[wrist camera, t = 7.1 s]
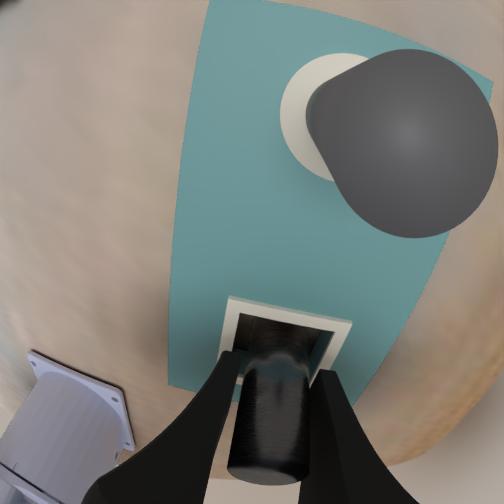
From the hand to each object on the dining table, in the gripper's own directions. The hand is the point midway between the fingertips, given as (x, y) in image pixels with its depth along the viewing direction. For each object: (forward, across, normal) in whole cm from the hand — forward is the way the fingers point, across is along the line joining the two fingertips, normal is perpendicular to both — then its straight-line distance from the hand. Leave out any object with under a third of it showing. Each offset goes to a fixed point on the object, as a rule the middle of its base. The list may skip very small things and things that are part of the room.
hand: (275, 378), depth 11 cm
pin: (+3, 0, 0) cm, 3 cm away
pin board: (+3, 0, -4) cm, 5 cm away
